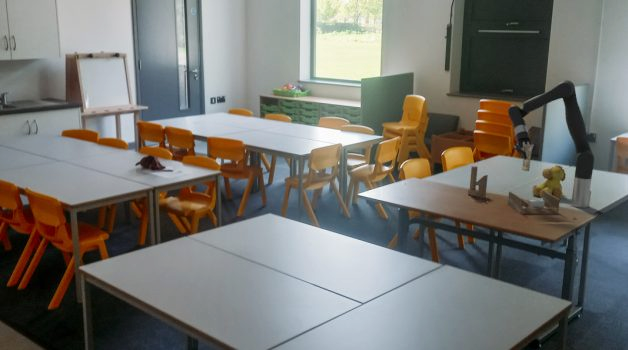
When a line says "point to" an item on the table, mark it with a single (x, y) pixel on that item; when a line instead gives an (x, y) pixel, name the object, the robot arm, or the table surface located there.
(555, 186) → the yellow stuffed toy
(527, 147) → the tan wooden bar
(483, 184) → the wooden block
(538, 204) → the grey offcut
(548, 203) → the brown wooden tray
